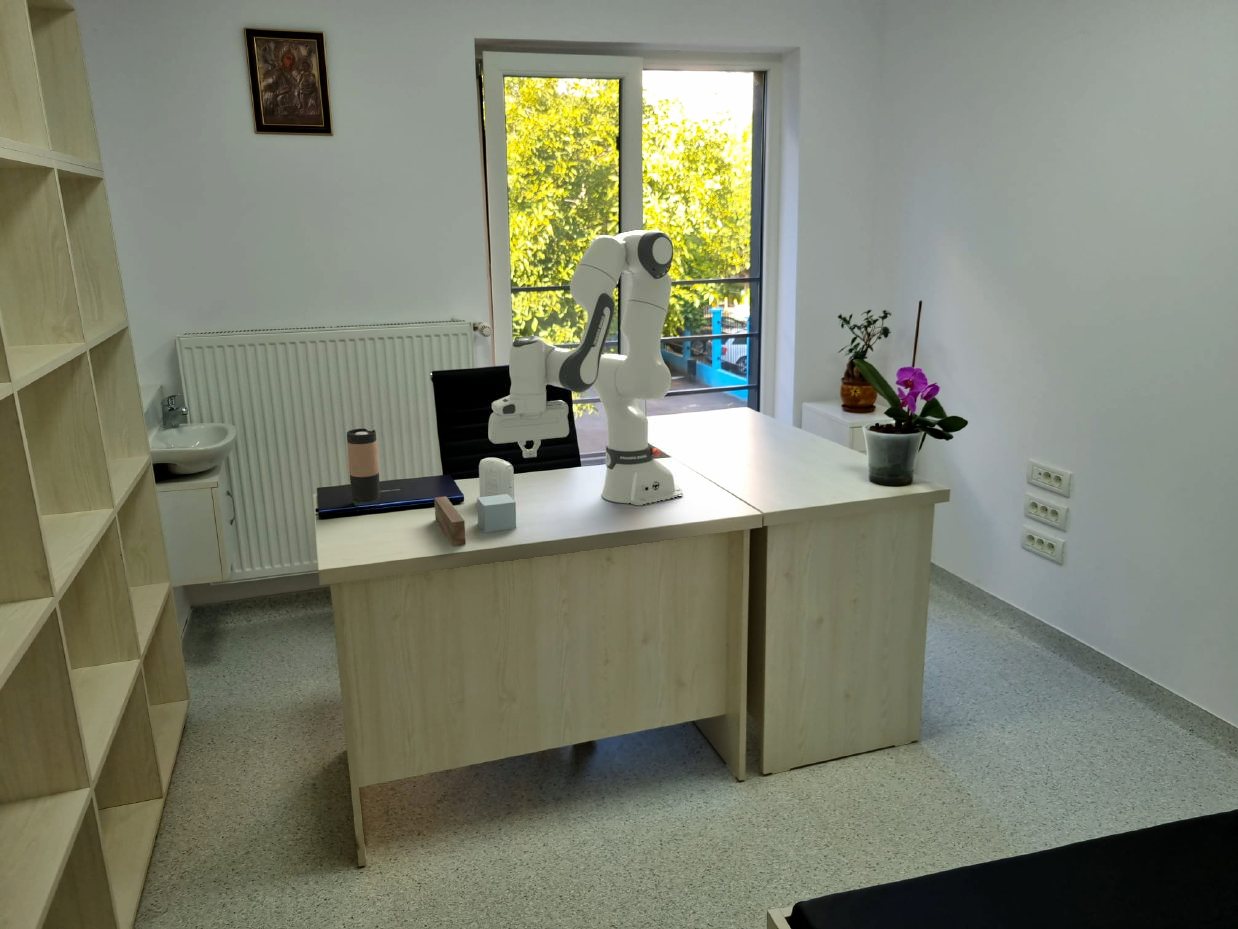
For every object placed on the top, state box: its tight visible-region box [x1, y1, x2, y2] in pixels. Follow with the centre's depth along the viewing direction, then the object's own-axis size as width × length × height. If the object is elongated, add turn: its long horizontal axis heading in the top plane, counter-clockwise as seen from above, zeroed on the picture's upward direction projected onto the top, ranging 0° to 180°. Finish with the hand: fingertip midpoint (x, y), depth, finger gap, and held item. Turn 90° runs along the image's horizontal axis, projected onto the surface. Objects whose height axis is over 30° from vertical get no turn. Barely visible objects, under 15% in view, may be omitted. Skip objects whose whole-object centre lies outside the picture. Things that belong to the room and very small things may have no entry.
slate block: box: [476, 494, 517, 533], centre depth 236 cm, size 8×7×7 cm
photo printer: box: [478, 457, 515, 501], centre depth 254 cm, size 10×4×12 cm, turn 56°
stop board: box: [433, 496, 467, 547], centre depth 232 cm, size 3×20×6 cm, turn 23°
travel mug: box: [346, 428, 381, 502], centre depth 251 cm, size 8×8×20 cm
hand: (529, 456), depth 236 cm, fingers closed
